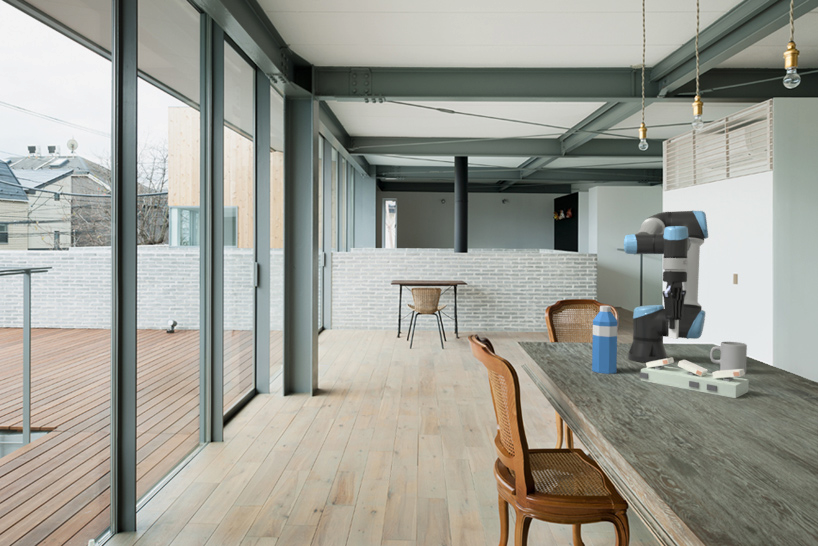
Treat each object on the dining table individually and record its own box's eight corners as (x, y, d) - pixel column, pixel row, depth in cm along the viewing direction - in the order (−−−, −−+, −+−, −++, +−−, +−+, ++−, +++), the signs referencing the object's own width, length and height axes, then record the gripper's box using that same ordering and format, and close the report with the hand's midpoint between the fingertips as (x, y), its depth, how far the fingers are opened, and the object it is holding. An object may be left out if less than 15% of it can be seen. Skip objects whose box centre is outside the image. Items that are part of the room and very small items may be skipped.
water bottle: (621, 373, 195) (622, 307, 194) (596, 373, 195) (597, 307, 194) (612, 368, 204) (613, 305, 203) (588, 368, 204) (589, 305, 204)
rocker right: (713, 378, 170) (712, 372, 171) (718, 376, 173) (717, 370, 173) (740, 376, 164) (738, 370, 165) (745, 374, 167) (743, 368, 168)
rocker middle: (677, 365, 179) (678, 361, 178) (682, 364, 182) (684, 359, 181) (701, 376, 173) (702, 371, 173) (706, 374, 176) (708, 369, 176)
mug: (744, 370, 201) (745, 342, 200) (747, 375, 193) (748, 346, 193) (708, 367, 206) (709, 340, 206) (710, 372, 199) (711, 343, 198)
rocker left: (646, 367, 187) (645, 363, 187) (652, 366, 190) (651, 361, 190) (668, 364, 181) (667, 358, 181) (674, 362, 184) (672, 357, 184)
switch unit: (639, 380, 185) (639, 367, 185) (655, 375, 193) (655, 362, 193) (735, 398, 162) (735, 383, 162) (748, 391, 170) (748, 377, 170)
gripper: (677, 271, 174) (675, 341, 174) (694, 270, 182) (692, 338, 182) (655, 270, 180) (653, 338, 180) (672, 270, 188) (671, 335, 188)
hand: (673, 338), depth 181 cm, fingers closed
